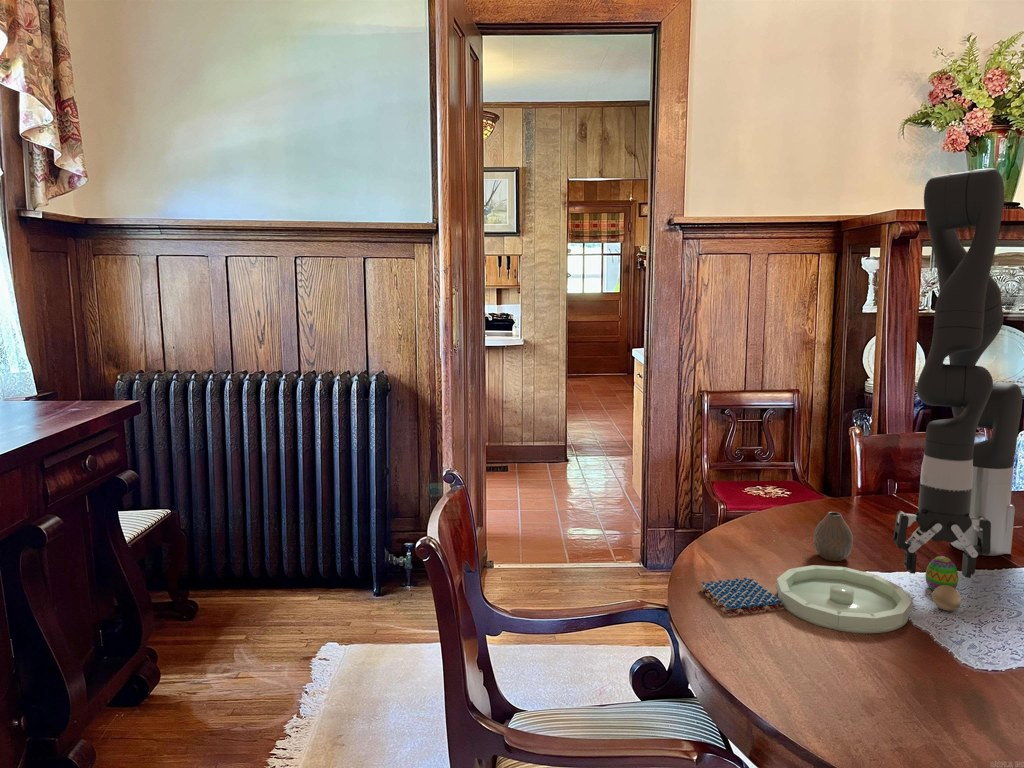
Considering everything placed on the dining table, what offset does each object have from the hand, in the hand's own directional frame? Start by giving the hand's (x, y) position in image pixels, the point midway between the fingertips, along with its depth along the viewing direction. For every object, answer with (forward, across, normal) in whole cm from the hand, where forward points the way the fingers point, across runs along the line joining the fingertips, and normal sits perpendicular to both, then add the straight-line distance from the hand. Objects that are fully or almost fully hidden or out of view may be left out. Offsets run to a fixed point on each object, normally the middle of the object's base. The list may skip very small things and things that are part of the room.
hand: (938, 574), depth 123 cm
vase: (+3, +14, -12) cm, 19 cm away
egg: (+3, -1, 0) cm, 3 cm away
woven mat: (+4, +33, +10) cm, 35 cm away
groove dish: (+3, +17, +9) cm, 20 cm away
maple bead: (+3, +1, +8) cm, 8 cm away
